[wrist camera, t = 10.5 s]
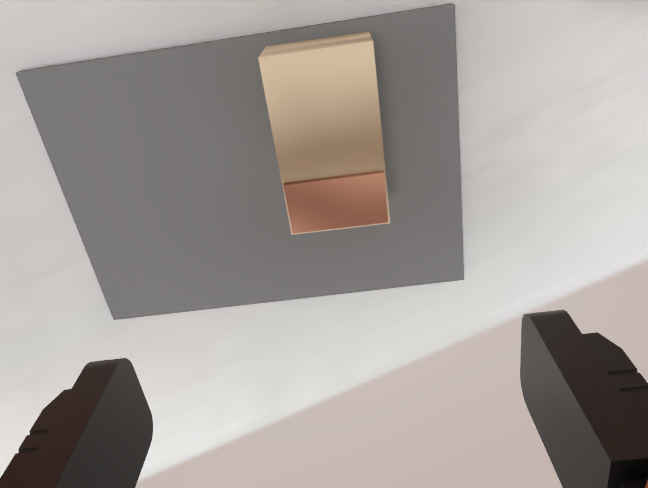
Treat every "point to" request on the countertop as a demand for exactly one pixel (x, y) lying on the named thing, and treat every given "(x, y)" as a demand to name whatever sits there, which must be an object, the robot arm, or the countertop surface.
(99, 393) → the robot arm
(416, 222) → the mat
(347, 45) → the beige rectangular block
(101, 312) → the countertop surface
